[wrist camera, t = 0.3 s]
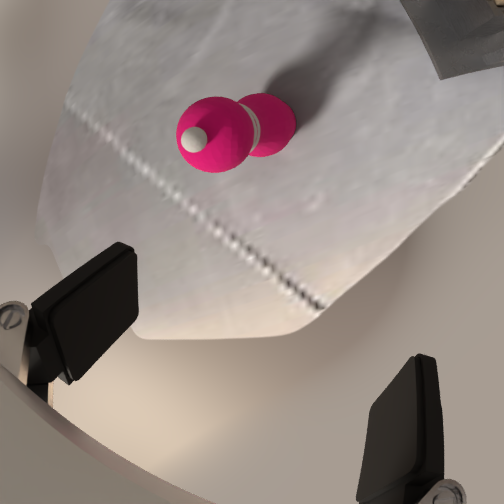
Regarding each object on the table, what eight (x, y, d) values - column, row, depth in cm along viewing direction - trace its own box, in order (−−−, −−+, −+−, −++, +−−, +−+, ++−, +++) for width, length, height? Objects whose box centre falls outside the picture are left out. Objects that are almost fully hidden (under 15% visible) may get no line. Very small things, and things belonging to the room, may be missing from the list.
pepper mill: (242, 95, 36) (140, 95, 19) (299, 94, 33) (237, 81, 17) (244, 150, 39) (150, 192, 22) (300, 152, 37) (242, 196, 20)
